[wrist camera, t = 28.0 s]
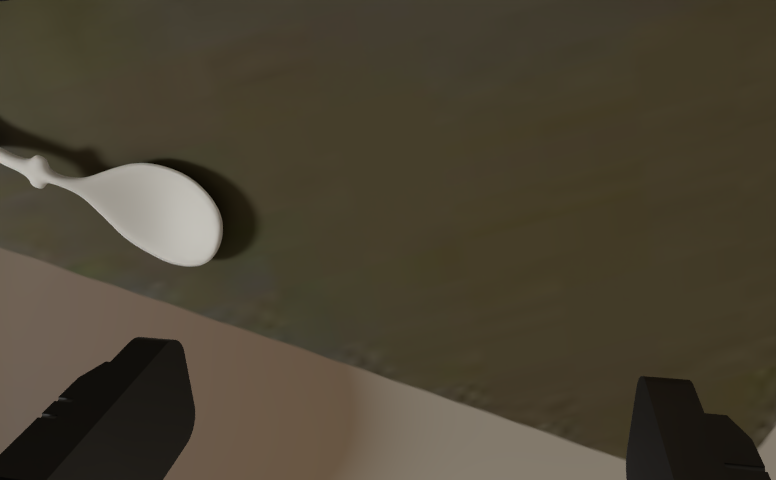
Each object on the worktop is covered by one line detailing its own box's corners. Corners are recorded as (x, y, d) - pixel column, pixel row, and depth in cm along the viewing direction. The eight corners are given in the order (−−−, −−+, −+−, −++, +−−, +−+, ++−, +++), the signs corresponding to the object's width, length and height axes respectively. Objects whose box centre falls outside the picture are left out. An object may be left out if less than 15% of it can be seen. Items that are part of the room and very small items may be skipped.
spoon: (-97, 48, 56) (-133, 55, 53) (242, 188, 56) (226, 202, 53) (-97, 141, 60) (-130, 152, 57) (220, 272, 60) (203, 290, 57)
